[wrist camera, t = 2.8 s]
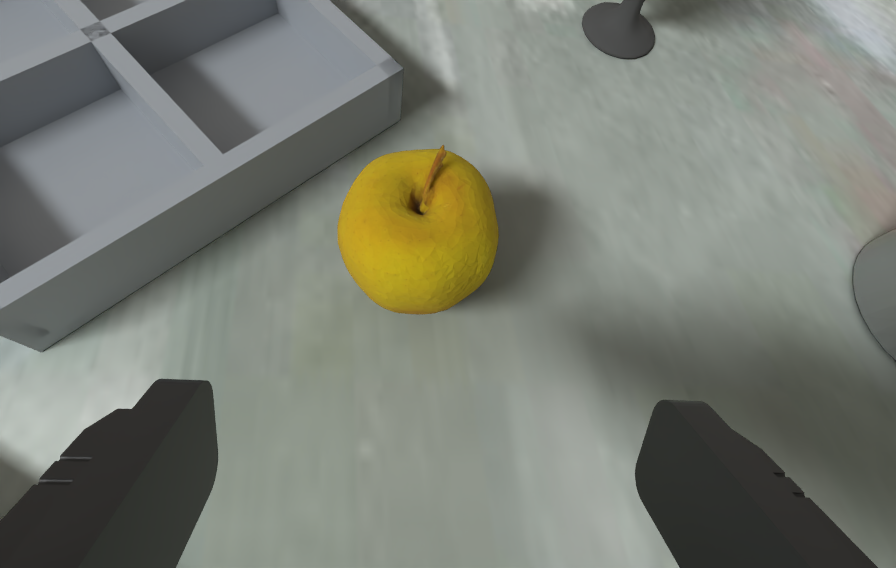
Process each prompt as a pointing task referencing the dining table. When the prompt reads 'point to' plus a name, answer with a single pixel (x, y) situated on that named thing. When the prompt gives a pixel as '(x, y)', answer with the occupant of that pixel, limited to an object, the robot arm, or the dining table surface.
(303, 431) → the dining table surface
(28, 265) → the tray
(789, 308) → the dining table surface
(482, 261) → the apple
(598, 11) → the sundae
